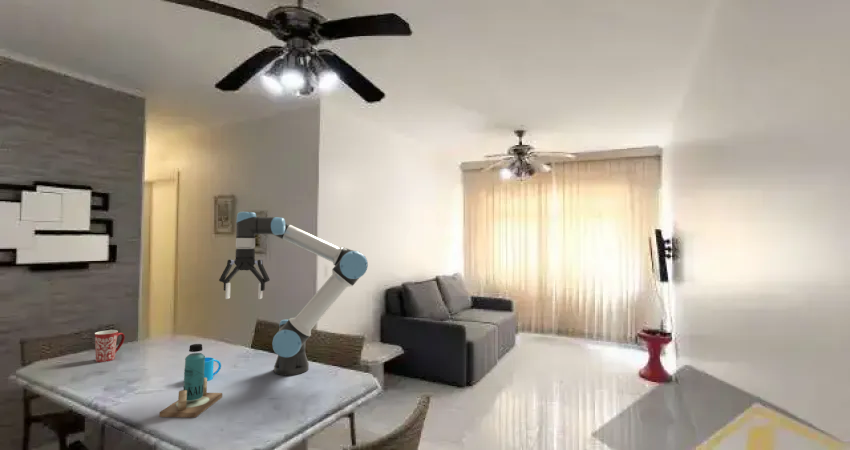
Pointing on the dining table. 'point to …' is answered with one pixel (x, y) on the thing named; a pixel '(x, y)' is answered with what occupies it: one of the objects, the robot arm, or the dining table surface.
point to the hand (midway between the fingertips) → (244, 298)
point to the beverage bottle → (194, 373)
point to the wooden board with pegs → (190, 404)
